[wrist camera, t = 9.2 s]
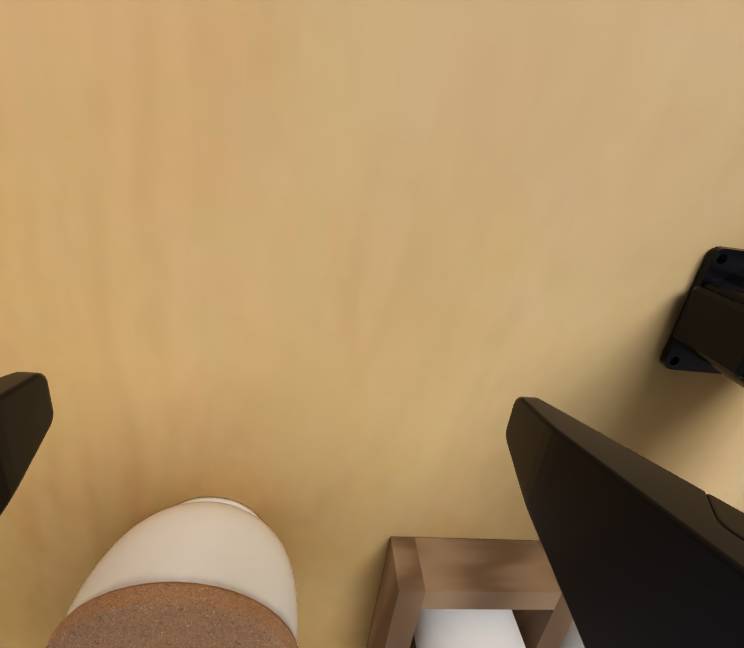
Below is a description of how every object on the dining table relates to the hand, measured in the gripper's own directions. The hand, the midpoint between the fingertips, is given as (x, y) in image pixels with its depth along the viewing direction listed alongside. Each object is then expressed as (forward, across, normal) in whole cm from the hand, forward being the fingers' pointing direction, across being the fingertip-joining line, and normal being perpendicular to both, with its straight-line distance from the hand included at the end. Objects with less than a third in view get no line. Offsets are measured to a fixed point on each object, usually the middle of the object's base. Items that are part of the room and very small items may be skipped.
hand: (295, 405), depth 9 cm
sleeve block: (+12, -11, +23) cm, 29 cm away
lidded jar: (+12, +5, +18) cm, 22 cm away
